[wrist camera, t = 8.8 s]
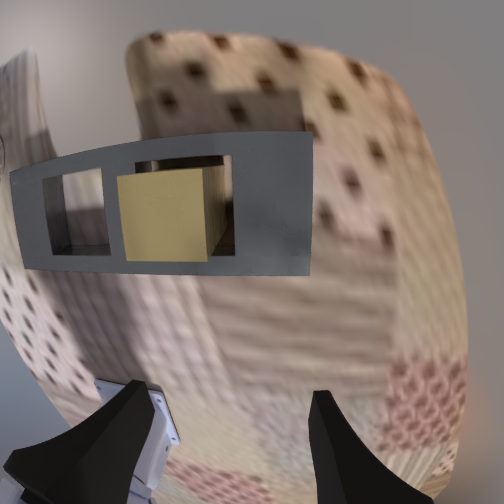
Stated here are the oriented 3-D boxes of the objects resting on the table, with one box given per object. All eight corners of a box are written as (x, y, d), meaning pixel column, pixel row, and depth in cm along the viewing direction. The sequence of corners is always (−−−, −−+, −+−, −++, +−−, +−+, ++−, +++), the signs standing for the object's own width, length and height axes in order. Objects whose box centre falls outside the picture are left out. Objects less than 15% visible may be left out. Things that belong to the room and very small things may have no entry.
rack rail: (304, 261, 18) (309, 275, 16) (41, 259, 20) (24, 268, 17) (306, 135, 16) (312, 131, 13) (28, 168, 17) (9, 172, 15)
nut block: (226, 228, 18) (207, 261, 12) (167, 229, 18) (126, 261, 12) (224, 165, 17) (201, 168, 11) (162, 169, 17) (116, 176, 11)
